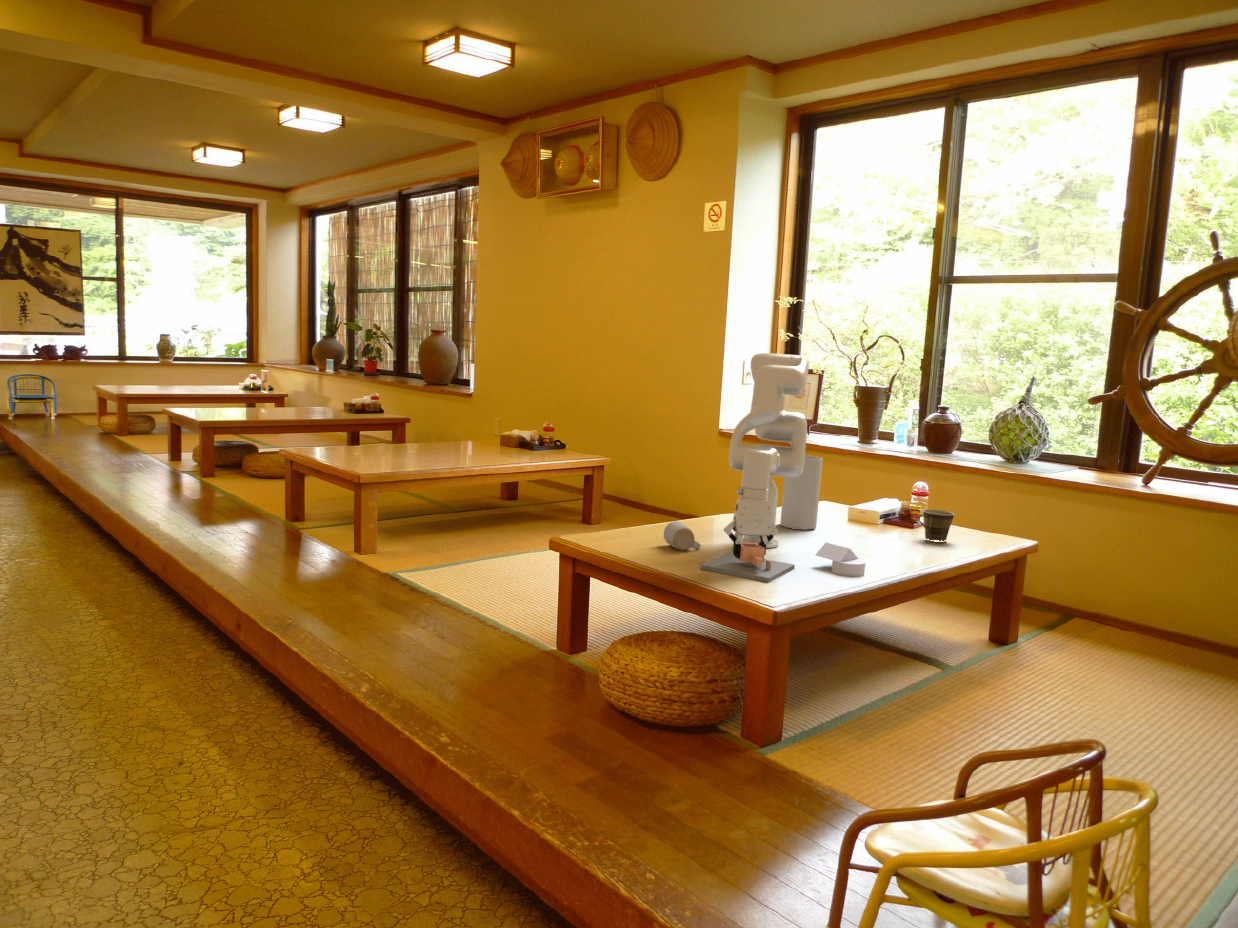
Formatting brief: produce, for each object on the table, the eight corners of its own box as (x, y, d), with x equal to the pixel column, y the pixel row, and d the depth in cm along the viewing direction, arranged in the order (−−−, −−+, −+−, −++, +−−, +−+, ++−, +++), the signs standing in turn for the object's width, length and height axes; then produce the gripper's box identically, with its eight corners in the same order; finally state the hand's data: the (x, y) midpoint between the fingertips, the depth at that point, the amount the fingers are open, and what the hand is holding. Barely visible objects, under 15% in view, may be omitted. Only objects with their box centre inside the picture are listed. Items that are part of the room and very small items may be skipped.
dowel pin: (766, 568, 241) (767, 559, 241) (771, 569, 240) (772, 560, 240) (764, 569, 240) (765, 560, 240) (769, 570, 239) (770, 561, 239)
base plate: (729, 556, 258) (730, 537, 257) (794, 568, 248) (796, 549, 247) (700, 568, 241) (701, 548, 240) (768, 582, 231) (770, 561, 230)
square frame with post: (734, 556, 246) (735, 542, 246) (755, 556, 248) (756, 542, 247) (748, 566, 236) (749, 551, 235) (770, 566, 237) (771, 552, 236)
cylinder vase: (808, 532, 302) (815, 460, 299) (774, 526, 309) (780, 456, 305) (821, 527, 312) (827, 457, 309) (788, 521, 319) (794, 453, 316)
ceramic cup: (938, 537, 308) (941, 509, 307) (957, 544, 299) (960, 515, 297) (906, 537, 304) (909, 509, 302) (925, 544, 294) (928, 515, 293)
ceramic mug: (672, 551, 260) (674, 526, 259) (662, 545, 267) (664, 520, 266) (705, 551, 263) (707, 526, 262) (693, 545, 271) (696, 520, 270)
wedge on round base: (813, 566, 253) (851, 577, 243) (816, 543, 252) (853, 553, 242) (833, 563, 258) (870, 573, 248) (835, 541, 257) (873, 550, 247)
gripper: (729, 495, 236) (723, 560, 239) (789, 497, 240) (783, 561, 242) (720, 490, 244) (715, 553, 246) (778, 492, 247) (772, 554, 250)
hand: (748, 556), depth 244 cm, fingers closed on square frame with post, 6 cm apart
